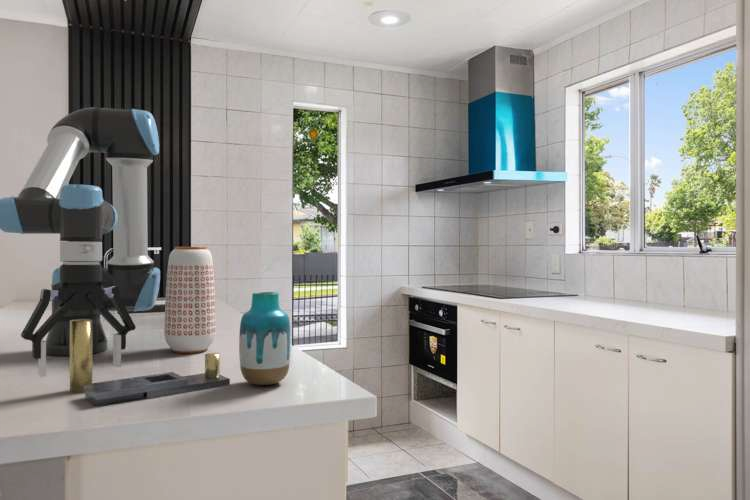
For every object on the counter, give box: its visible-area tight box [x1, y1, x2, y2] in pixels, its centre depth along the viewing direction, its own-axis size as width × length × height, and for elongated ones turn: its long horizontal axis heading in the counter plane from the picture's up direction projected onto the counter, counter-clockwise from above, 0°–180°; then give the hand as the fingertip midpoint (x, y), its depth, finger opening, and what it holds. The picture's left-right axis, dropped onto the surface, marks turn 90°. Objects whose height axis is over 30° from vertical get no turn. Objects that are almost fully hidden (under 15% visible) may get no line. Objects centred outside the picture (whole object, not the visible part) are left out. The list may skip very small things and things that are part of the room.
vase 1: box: [163, 246, 217, 354], centre depth 157 cm, size 13×13×28 cm
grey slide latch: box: [84, 352, 231, 407], centre depth 115 cm, size 8×26×6 cm, turn 131°
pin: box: [69, 319, 93, 394], centre depth 115 cm, size 4×4×14 cm
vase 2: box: [238, 291, 292, 386], centre depth 121 cm, size 11×11×19 cm
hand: (80, 370), depth 115 cm, fingers open, 13 cm apart
